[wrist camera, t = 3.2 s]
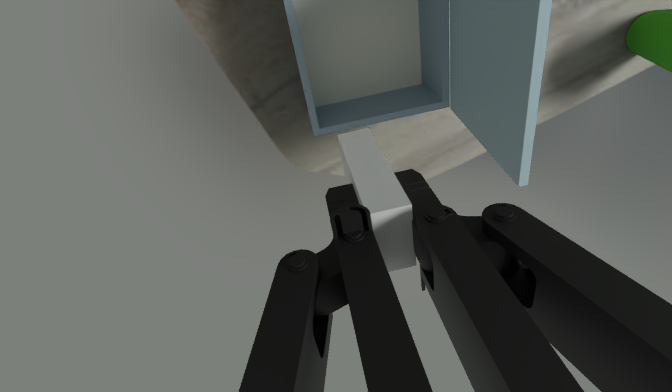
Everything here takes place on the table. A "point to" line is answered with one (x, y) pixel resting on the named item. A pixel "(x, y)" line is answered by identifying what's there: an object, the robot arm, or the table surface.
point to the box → (370, 59)
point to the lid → (499, 75)
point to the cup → (652, 37)
